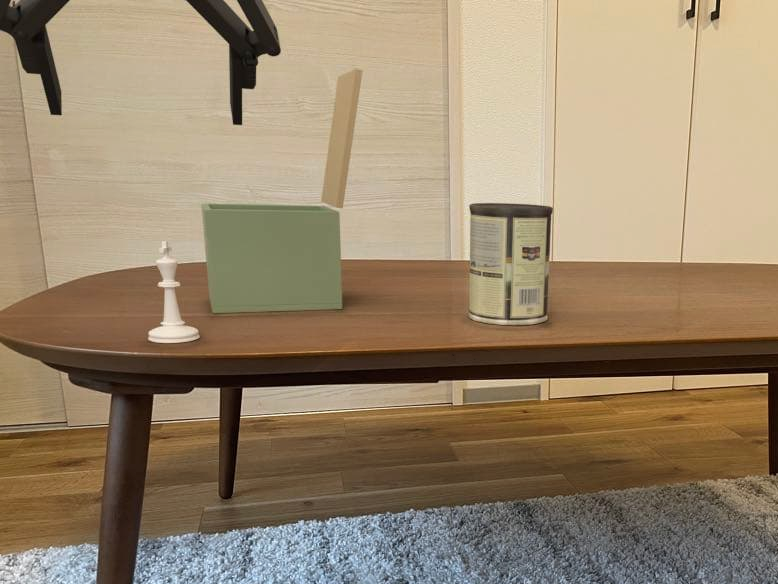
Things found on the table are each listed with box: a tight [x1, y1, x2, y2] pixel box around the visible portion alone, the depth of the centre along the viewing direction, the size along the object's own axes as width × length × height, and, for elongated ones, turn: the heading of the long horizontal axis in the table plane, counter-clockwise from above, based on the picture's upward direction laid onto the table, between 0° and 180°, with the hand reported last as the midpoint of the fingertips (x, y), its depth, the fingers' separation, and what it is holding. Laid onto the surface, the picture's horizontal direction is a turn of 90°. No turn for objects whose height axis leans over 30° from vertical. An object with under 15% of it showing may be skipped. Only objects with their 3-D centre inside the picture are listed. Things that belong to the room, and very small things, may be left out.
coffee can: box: [468, 202, 554, 326], centre depth 98 cm, size 10×10×14 cm
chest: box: [201, 202, 343, 314], centre depth 101 cm, size 16×12×12 cm
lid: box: [320, 68, 363, 209], centre depth 100 cm, size 16×12×1 cm
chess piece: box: [147, 240, 201, 344], centre depth 80 cm, size 5×5×10 cm
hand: (149, 109), depth 65 cm, fingers open, 13 cm apart
